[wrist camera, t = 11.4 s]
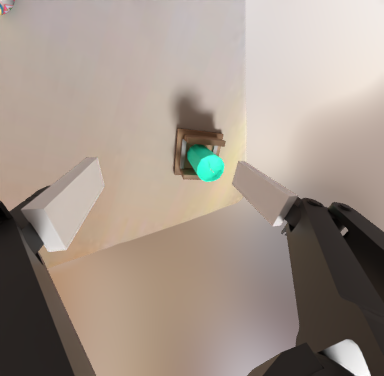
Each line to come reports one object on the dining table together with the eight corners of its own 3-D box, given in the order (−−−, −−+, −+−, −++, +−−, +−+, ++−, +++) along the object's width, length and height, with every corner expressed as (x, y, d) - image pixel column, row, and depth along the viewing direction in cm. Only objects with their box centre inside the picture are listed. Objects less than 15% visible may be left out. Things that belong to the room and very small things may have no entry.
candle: (212, 154, 38) (233, 170, 28) (196, 169, 39) (211, 190, 29) (198, 138, 35) (215, 150, 25) (182, 155, 36) (192, 173, 26)
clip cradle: (177, 128, 34) (181, 131, 29) (221, 133, 37) (232, 137, 32) (174, 173, 39) (176, 182, 34) (212, 174, 42) (220, 183, 37)
